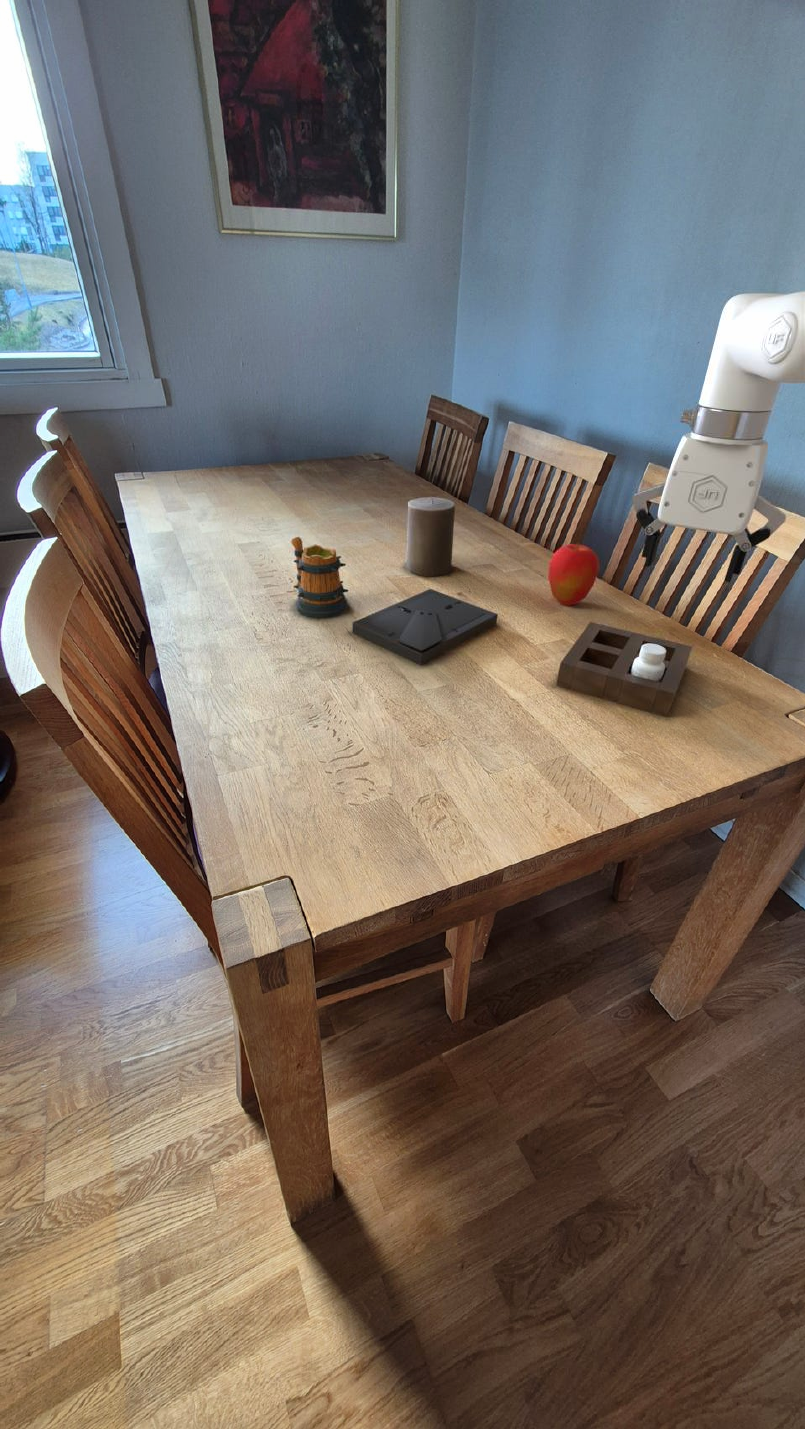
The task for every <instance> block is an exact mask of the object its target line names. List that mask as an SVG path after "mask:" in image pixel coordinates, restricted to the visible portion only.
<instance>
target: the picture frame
mask: <svg viewBox="0 0 805 1429" xmlns="http://www.w3.org/2000/svg"><path fill="white" fill-rule="evenodd" d="M498 617H499V616H498V613H495V612H493V611H490V610H488V609H485V608H483V607H479V606H477V605H475V604H472V603H469V602H466V601H463V600H461V599H458V598H456V597H453V596H450V595H449V594H445V593H443V592H440V591H438V590H435V589H433V588H429V589H426V590H424V591H422V592H420V593H418V594H415V595H413V596H410V597H408V598H406V599H404V600H401V601H399V602H396V603H393V604H392V605H390V606H386V607H384V608H382V609H380V610H378V611H376V612H372V613H371V614H369V615H366V616H363V617H361V618H359V619H357V620H354V621H352V622H351V626H352V627H351V628H352V630H351V631H352V634H353V635H356V636H357V637H360V638H362V639H364V640H366V641H368V642H371V643H372V644H374V645H376V646H379V647H380V648H383V649H385V650H387V651H390V652H391V653H393V654H395V655H398V656H399V657H401V658H404V659H406V660H408V661H410V662H412V663H415V664H416V665H419V666H423V665H425V664H427V663H429V662H430V661H432V660H434V659H436V658H438V657H440V656H441V655H444V654H445V653H447V652H449V651H451V650H452V649H454V648H456V647H458V646H460V645H461V644H464V643H465V642H467V641H470V640H471V639H473V638H475V637H477V636H479V635H480V634H483V633H484V632H486V631H488V630H489V629H491V628H494V627H496V626H497V623H498Z"/></svg>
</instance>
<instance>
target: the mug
mask: <svg viewBox="0 0 805 1429" xmlns="http://www.w3.org/2000/svg"><path fill="white" fill-rule="evenodd" d="M290 543H291V545H292V546H293V547H294V550H293V552H294V557H295V560H293V562H294V563H295V564H296V570H297V573H296V580H297V582H296V585H293V588H295V589H297V590H298V591H297V592H298V594H297V600H296V601H295V606H296V611H297V612H298V613H299V614H300V615H302V616H305V617H307V618H313V619H330V618H334V617H338V616H340V615H342V614H345V612H346V611H347V610H348V609H349V608H348V606H349V604H348V599H347V598H346V595H345V593H347V592H348V593H349V589H346V588H344V584H343V583H344V581H343V580H341V577H340V571H339V570H340V568H341V567H345V566H347V563H343V562H341V560H340V559H341V557H342V556H341V555H339V556H337V550H336V548H334V549H332V548H329V547H323V546H321V545H318V544H316V543H315V544H312V545H310V546H307V547H304V548H303V540H302V538H301V537H300V536H296V537H293V538H292V539H291V540H290Z"/></svg>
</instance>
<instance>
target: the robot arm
mask: <svg viewBox="0 0 805 1429" xmlns="http://www.w3.org/2000/svg"><path fill="white" fill-rule="evenodd" d="M781 383H783V384H805V290H803V291H797V292H792V293H772V292H771V293H769V292H767V293H765V292H764V293H763V292H754V293H750V292H749V293H740V294H736V295H733V296H732V297H731V298H730V299H729V300H727V301H726V304H725V305H724V307H723V309H722V312H721V315H720V318H719V322H718V326H717V331H716V335H715V338H714V342H713V345H712V350H711V353H710V358H709V362H708V366H707V370H706V373H705V378H704V383H703V385H702V390H701V393H700V398H699V401H698V405H697V406H695V407H694V408H691V409H683V411H682V413H681V416H680V423H684V424H686V425H689V428H690V432H688V433H685V434H683V435H682V437H681V439H680V441H679V444H678V446H677V449H676V451H675V453H674V456H673V459H672V462H671V465H670V468H669V471H668V474H667V477H666V480H665V482H663V483H661V484H658V485H654V486H652V487H649V488H645V489H643V490H640V491H637V492H636V493H634V494H633V495H632V497H631V501H632V505H633V508H634V511H635V515H636V516H635V517H636V520H637V521H638V522H639V523H640V525H641V527H642V528H643V530H644V533H645V535H646V536H645V541H644V543H643V544H644V545H643V549H642V553H641V558H644V559H645V561H644V567H647V568H649V567H651V566H652V564H653V563H654V562H655V560H656V556H657V553H658V548H659V544H660V540H661V536H662V532H661V529H662V528H663V527H664V526H666V525H667V526H673V527H678V528H682V529H683V528H684V529H690V530H694V531H695V530H696V531H702V532H708V533H714V534H721V535H732V536H733V538H734V539H735V540H734V541H736V543H737V544H735V547H734V549H733V552H732V555H731V558H730V560H729V564H728V566H727V567H728V568H727V571H726V573H725V577H724V581H725V582H726V583H731V581H732V578H733V575H738V576H739V575H740V573H741V570H742V567H743V564H744V562H745V559H746V555H747V552H748V551H750V550H751V549H752V548H754V547H755V546H757V545H759V544H761V543H763V542H765V541H766V540H768V539H769V538H770V537H771V536H772V535H773V534H774V533H775V532H776V531H777V530H778V529H780V528H781V526H783V524H784V523H785V522H786V519H787V514H786V513H785V512H784V511H782V510H781V509H779V508H778V507H777V506H775V505H774V504H772V503H771V502H770V501H769V500H767V499H766V498H764V497H763V496H761V495H760V494H759V493H760V489H761V486H762V485H761V484H762V481H763V477H764V473H765V468H766V463H767V458H768V452H769V450H768V449H769V442H768V441H766V440H765V439H764V436H765V433H766V430H767V427H768V424H769V420H770V417H771V414H772V410H773V408H774V404H775V403H776V402H775V401H776V399H777V395H778V393H779V390H780V385H781ZM657 498H660V501H659V507H658V509H657V510H658V511H657V516H656V517H655V518H654V516H653V515H652V513H651V512H650V510H649V509H648V506H647V501H650V500H653V499H654V500H655V499H657ZM754 510H755V511H757V512H758V513H759V514H760V515H762V516H763V517H765V518H766V519H767V520H768V521H767V522H766V523H765V524H764V525H763V526H762V527H760V528H759V529H757V530H755V531H753V532H751V531H750V530H749V528H748V526H749V523H750V521H751V518H752V515H753V513H754Z"/></svg>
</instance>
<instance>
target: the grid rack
mask: <svg viewBox="0 0 805 1429" xmlns="http://www.w3.org/2000/svg"><path fill="white" fill-rule="evenodd" d="M648 643H651V644H657V645H660V646H662V647H664V648H665V649H666V655H665V658H664V660H663V661H662V662H663V663H664V665H665V669H664V673H663V676H662V679H661V682H657V681H654V680H650V679H646V678H642V677H639V676H635V675H631V674H630V673H631V670H632V666H633V663H634V660H635V659H636V658H637V657H639V654H640V650H641V647H642V645H644V644H648ZM692 650H693V646H691V645H688V644H684V643H680V642H676V641H672V640H667V639H664V638H659V637H656V636H651V635H646V634H642V633H640V632H639V633H638V632H635V631H630V630H626V629H622V628H618V627H614V626H609V625H605V624H602V623H597V622H593V621H590V622H589V623H588V624H587V626H586V627H585V628H584V629H583V631H582V632H581V634H580V635H579V636H578V638H577V639H576V641H575V642H574V644H573V645H572V646H571V647H570V649H569V650H568V652H567V653H566V654H565V656H564V657H563V659H562V660H561V661H560V663H559V669H558V672H557V673H558V674H557V678H556V684H555V685H556V686H557V687H560V688H564V689H567V690H572V691H575V692H579V693H582V694H585V695H588V696H593V697H596V698H599V699H603V700H607V701H610V702H613V703H616V704H620V705H623V706H627V707H630V708H634V709H637V710H640V711H644V712H647V713H652V714H654V715H657V716H662V717H665V718H668V716H669V713H670V711H671V709H672V705H673V702H674V701H675V697H676V694H677V692H678V689H679V686H680V684H681V681H682V678H683V676H684V673H685V670H686V668H687V665H688V662H689V659H690V655H691V653H692Z"/></svg>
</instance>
